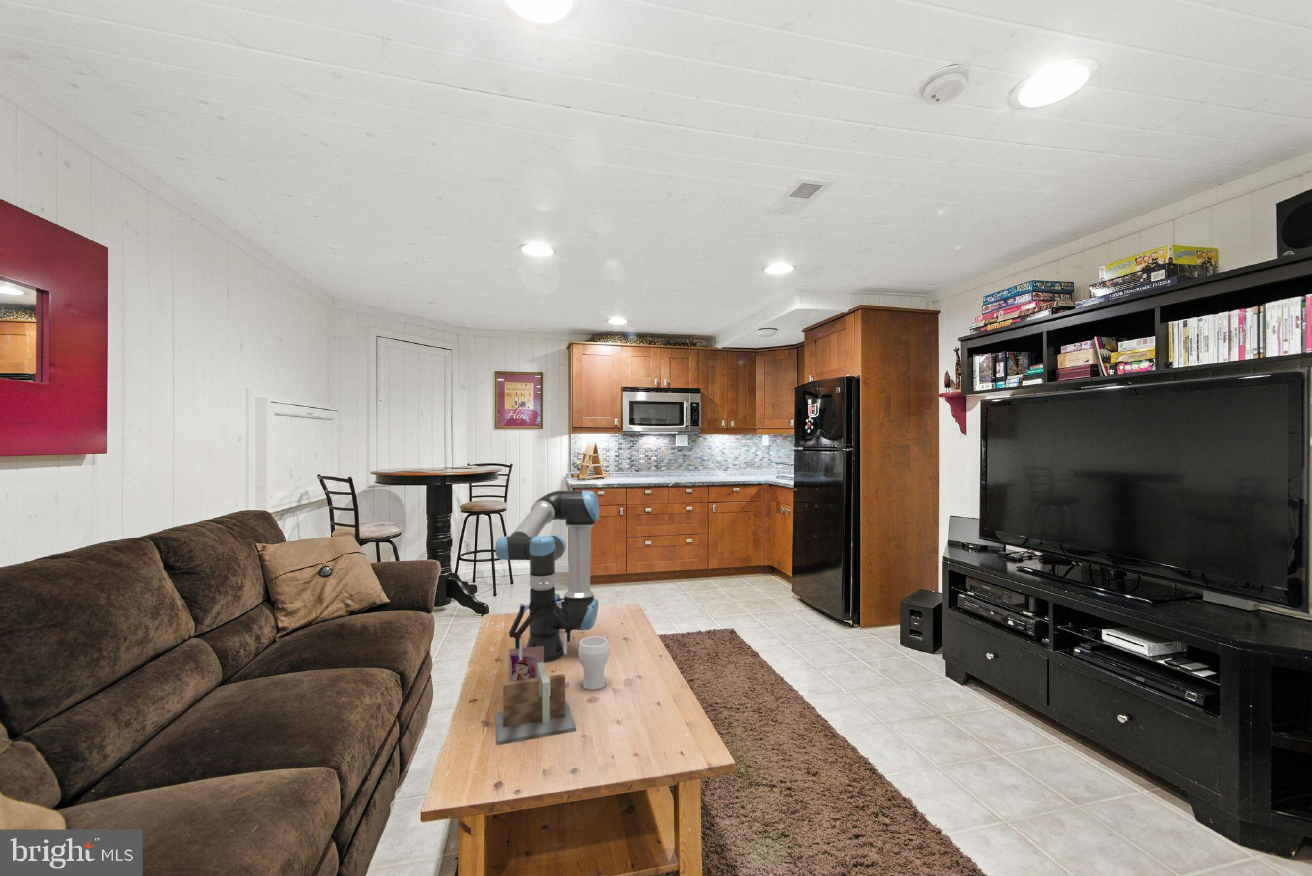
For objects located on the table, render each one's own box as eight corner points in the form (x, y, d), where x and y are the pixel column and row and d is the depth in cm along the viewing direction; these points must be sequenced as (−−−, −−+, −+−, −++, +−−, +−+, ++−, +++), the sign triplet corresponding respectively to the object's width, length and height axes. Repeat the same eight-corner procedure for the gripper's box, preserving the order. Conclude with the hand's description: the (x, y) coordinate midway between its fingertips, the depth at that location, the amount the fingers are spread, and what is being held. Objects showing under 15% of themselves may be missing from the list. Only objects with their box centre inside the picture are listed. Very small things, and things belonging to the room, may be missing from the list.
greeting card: (507, 695, 175) (507, 650, 175) (520, 686, 182) (520, 642, 182) (537, 701, 171) (537, 655, 171) (549, 691, 178) (549, 646, 178)
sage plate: (537, 700, 169) (537, 663, 169) (543, 699, 170) (543, 662, 170) (542, 724, 155) (542, 683, 155) (549, 722, 156) (549, 682, 156)
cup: (604, 693, 176) (603, 648, 176) (573, 690, 178) (573, 646, 178) (613, 679, 186) (612, 636, 187) (584, 677, 189) (584, 634, 189)
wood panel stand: (497, 744, 146) (497, 697, 146) (495, 716, 161) (495, 673, 161) (576, 730, 153) (575, 685, 153) (567, 704, 168) (567, 664, 168)
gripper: (501, 594, 156) (501, 666, 156) (584, 586, 164) (585, 654, 164) (500, 587, 163) (500, 656, 163) (580, 580, 171) (580, 645, 171)
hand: (543, 655), depth 164 cm, fingers open, 13 cm apart
